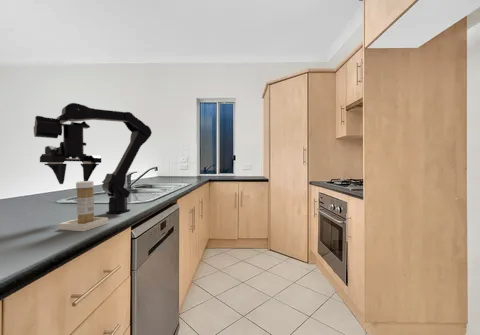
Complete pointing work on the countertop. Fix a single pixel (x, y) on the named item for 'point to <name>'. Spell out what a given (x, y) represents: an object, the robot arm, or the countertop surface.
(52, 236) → the countertop surface
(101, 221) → the tray
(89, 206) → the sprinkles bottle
